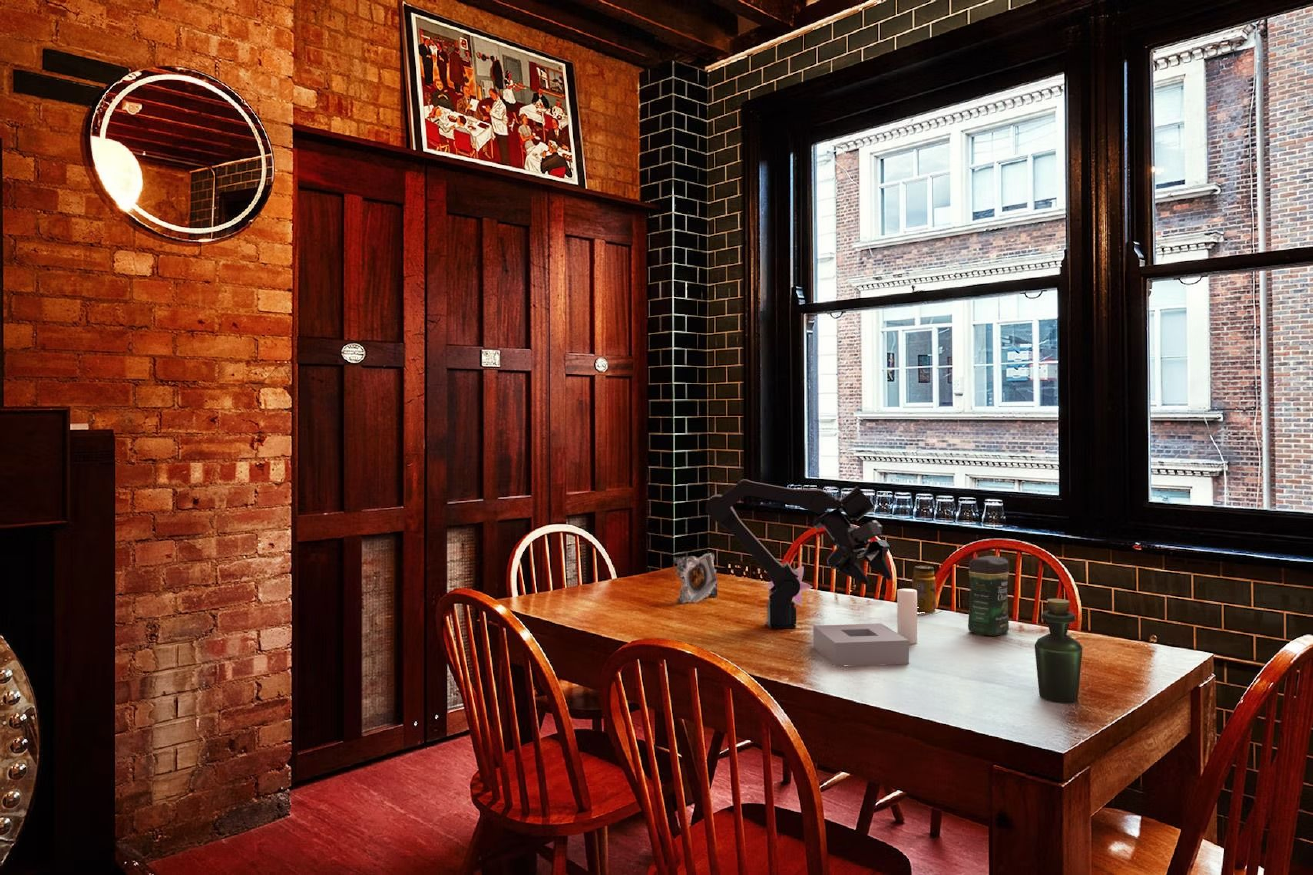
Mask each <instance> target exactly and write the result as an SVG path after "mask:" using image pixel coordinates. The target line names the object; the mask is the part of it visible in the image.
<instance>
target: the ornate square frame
mask: <svg viewBox="0 0 1313 875" xmlns="http://www.w3.org/2000/svg"><path fill="white" fill-rule="evenodd" d="M714 560H715V554H714V553H713V552H710V553H704V554H703V555H702V556H700V557H697V556H695V555H690V556H676V557H673V561H674V563H675V564H676V565H677V566H676V572H677V575H678V577H679V578H680V580H681V583H682V586H681V587H680V590H678V592H679V595H678V596H679V597H678V598H677V604H682V603H683V604H685V603H691V602H694V603H698V602H700V601H702V600H704V599H707V598H710V597H709V596H712V597H714V596H716V597H718V577H717V576H716V575H717V574H716V573H717V569H715V566H714Z"/></svg>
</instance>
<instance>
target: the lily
mask: <svg viewBox="0 0 1313 875" xmlns="http://www.w3.org/2000/svg"><path fill="white" fill-rule="evenodd" d="M804 568H805V567H804V566H799V567H797V568H796V569H794V570H795V571H797V572H798V578H799V581H800V591H799V593H798V594H797V595H796V596H795V597H793V599H792V601H793V602H794V604H796V605H797V606H799V607H800V606H803V593H802V592H804V591H807V590H809V589H812V588H813V585H811V584H809V583H806V582H804V581H803V578H804V577H803V576H804V570H805V569H804ZM765 586H766V587H767V588H768V589H769V590H770V589H771V588H772V587H773V586H774V584H773V582H772V581H771V580H770V581H769V582H766V583H765Z"/></svg>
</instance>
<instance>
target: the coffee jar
mask: <svg viewBox="0 0 1313 875" xmlns="http://www.w3.org/2000/svg"><path fill="white" fill-rule="evenodd" d="M968 576H969V584H970V585H969V605H968V606H969V608H968V622H967V623H968V624H967V630H968V631H969V632H972V633H974V635H977V636H991V637H993V636H999V635H1003V634H1006V633H1008V632H1009V631H1010V630H1009V628H1010V625H1009V624H1010V622H1009V609H1008V608H1009V605H1008V604H1009V603H1008V600H1009V599H1008V580H1009V576H1010V568H1009V561H1008V559H1006V557H1004V556H997V555H986V556H980V557H975V558H972V559H971V560H970V561H969V564H968Z"/></svg>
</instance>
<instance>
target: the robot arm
mask: <svg viewBox="0 0 1313 875" xmlns="http://www.w3.org/2000/svg"><path fill="white" fill-rule="evenodd" d="M747 496H748V497H753V498H758V499H764V500H768V501H775V502H780V503H785V504H791V505H794V506H796V507H799V508H801V509H804V510H806V511H809V512H812V513H815V514H822V515H820V516H814V521H813V527H814V528H815V530H817V531H818V530H820V529H821V528H824V529H825V531H826V532H827V533H828V534H829V536H830V537H831V539H832V542H831V544H832V546H833V547H835V546H836V548H835V549H834V550H833V551H832V552H831V553H830V555H829V556H828V557H827V565H828V566H829V568H830V569H831V570H836V572H840V573H842V574H844V575H847V576H849V577H850V578H852V579H854V580H856V581H858V582H860V583H862V585H863V584H864V586H868V585H869V584H870V583H871V581H870V580H869V578H868V575H867V574H866V573H865V571H864V570H863V568H862V566H860V564H859V560H858V558H863V559H864V561H865V562H867V566H868V567H870V568H871V569H873V570H874V571H876V572H877V573H878V574H880V575H881V576H882V577H883V578H884V579H886V580H888V581H891V580H892V578H893V576H892V573H891V570H890V568H889V565H888V561H887V558H886V557H887V553H888V552H889V549H890V547H891V545H890V544H889V543H888V542H887V541H886V539H877V540H873V541H871V539H873V538H875V537H879V536H882V532H883V525H881V524H880V522H878V521H877V520H876V519H875V520H871V521H869V522H867V523H865V524H863V525H860V526H853V525H852V524H851V523H850V521H852V520H856V521H857V522H858V521H859V520H860V519H861V518H863V517H864V516H866V515H867V514H868V513H870V512H872V511H873V510H874V509H875V508H876V507H875V505H874V503H873V502H872V501H871V499H870V498H869V497H868V496H867V495H866V494H864V492H863V491H862V490H861V489H860V487H859V486H855V487H854V488H853V489H852V490H851V491H850V492H848V493H847V494H846V495H844V496H843V497H842V498H841V499H840V498H838V497H837V496H836V497H834V496H831V495H828V493H827V491H826V490H824V489H821V488H791V487H784V486H780V485H773V484H770V483H769V484H768V483H763V482H757V481H752V480H749V479H746V478H745V479H741V480H740V481H738V483H737V484H735V485H733V486H732V487H731V488H729V489H728V490H726V491H725V492H723V493H722V494H717V493H716V494H713V495H712V496H710V498H709V499H707V501H706V504H705V512H706V514H707V516H708V517H710V518H711V519H712V520H714V522H716V523H717V524H719V525H720V526H721V527H723V528H725V529H726V530H727V531H728V532H730V533H731V534H732V535H733V536H734V537H735V539H737V541H738V542H739V543H740V544H741V545H742V547H743V548H745V550H746V551H747V552H748V553H749V554H750V555H751V557H753V559H754V560H755V561H756V562H757V563H758V564H759V565H760V566H761V567H762V569H764V571H765V572H766V573H767V575H768V577H769V579H770V582H771V581H772V582H773V584H774V586H773V587H772V588H771V589H770V588H769V590H768V598H769V599H768V600H767V601H766V606H767V607H766V611H767V612H766V615H767V616H766V617H767V618H766V619H767V620H766V621H765V624H766V626H768V627H769V628H770V629H772V630H773V629H796V628H797V625H796V624H797V607H795V602H793V601H792V599H793V597H795V596H796V595H797V594H798V593H799V591H800V581H799V578H798V572H797V571H795V570H796V569H794V568H792V566H791V565H790V563H789V561H788V560H786V561H785V562H784V563H782V562H780V561H778V560H777V559H776V558H775V557H774V556H773V554H771V553H770V551H769V550H768V549H767V548H766V546H764V545H763V543H761V541H760V540H759V539H758V538H757V537H756V535H754V534H753V532H752V531H751V530H750V529H749V528H748V527H747V526H746V525H745V524H744V523H743V521H742V520H741V519H740V518H739V516H738V514H737V512H736V510H735V509H734V507H733V506H734V505H736V504H737V503H738V502H740V501H741V500H743V499H744V498H745V497H747ZM832 509H833V510H832ZM829 510H831V511H829ZM843 512H844V513H845V515H846V516H847V517H848V518H849V520H850V521H849V520H848V519H847V518H846V516H845V515H844V514H843ZM867 545H868V546H867Z"/></svg>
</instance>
